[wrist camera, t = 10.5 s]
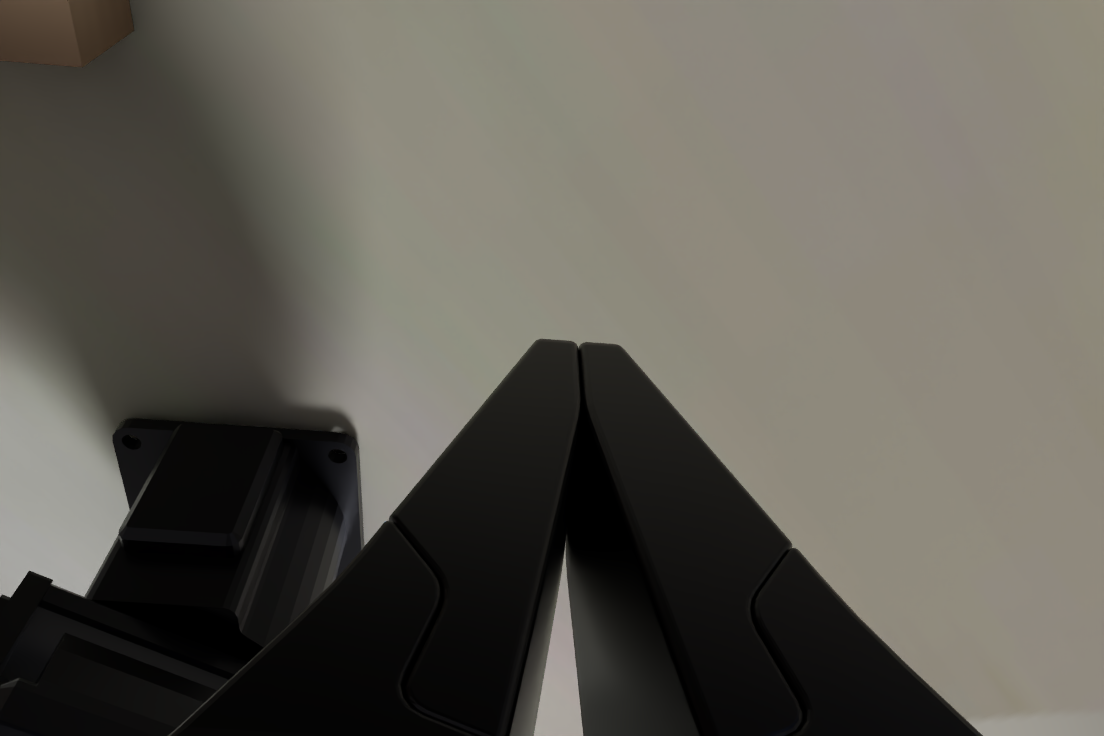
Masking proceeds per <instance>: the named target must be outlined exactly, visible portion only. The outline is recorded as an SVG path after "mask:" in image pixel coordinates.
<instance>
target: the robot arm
mask: <svg viewBox="0 0 1104 736" xmlns="http://www.w3.org/2000/svg"><path fill="white" fill-rule="evenodd" d="M129 435H133V436H136V437H137V438H138V439H139V440H136V439H133V438H132V437H130V436H129ZM113 444H114V448H115V452H116V456H117V460H118V464H119V468H120V472H121V476H122V480H123V484H124V488H125V492H126V496H127V500H128V504H129V508H130V511H129V513H128V515H127V517H126V518H125V520H124V522H123V524H122V526H121V527H120V529H119V534H118V537H117V538H116V540H115V542H114V544H113V546H112V547H111V549H110V551H109V553H108V555H107V557H106V558H105V560H104V562H103V564H102V566H101V567H100V569H99V571H98V573H97V575H96V577H95V578H94V580H93V582H92V584H91V586H90V587H89V589H88V591H87V593H86V595H85V597H83V596H80V595H78V594H75V593H73V592H70V591H68V590H65V589H63V588H60V587H58V586H55V585H52V584H51V583H52V582H53V580H52V579H49V578H47V577H44V576H41V575H39V574H36V573H34V572H31V571H29V572H28V573H27V575H26V576H25V578H24V579H23V581H22V582H21V584H20V585H19V587H18V588H17V589H16V591H15V592H14V594H13V595H12V597H11V598H10V597H7V596H5V595H1V597H0V736H534V730H535V724H536V718H537V712H538V707H539V701H540V695H541V689H542V683H543V678H544V672H545V666H546V660H547V654H548V649H549V643H550V637H551V631H552V625H553V620H554V614H555V608H556V602H557V596H558V591H559V585H560V579H561V572H562V565H563V558H564V550H565V542H566V567H567V580H568V590H569V599H570V609H571V619H572V629H573V638H574V648H575V658H576V667H577V677H578V687H579V697H580V706H581V716H582V726H583V736H983V735H982V734H980V733H979V732H978V731H977V730H976V729H975V728H974V727H973V726H972V725H971V724H970V723H969V722H968V721H967V720H966V719H965V718H963V717H962V716H961V715H960V714H959V713H958V712H957V711H956V710H955V709H954V708H953V707H952V706H951V705H950V704H949V703H948V702H946V701H945V700H944V699H943V698H942V697H941V696H940V695H939V694H938V693H937V692H936V691H935V690H934V689H933V688H932V687H930V686H929V685H928V684H927V683H926V682H925V681H924V680H923V679H922V678H921V677H920V676H919V675H918V674H917V673H916V672H914V671H913V670H912V669H911V668H910V667H909V666H908V665H907V664H906V663H905V662H904V661H903V660H902V659H901V658H900V657H899V656H898V655H897V654H896V653H895V652H894V651H893V650H892V649H891V648H890V647H889V646H888V645H887V644H886V643H885V642H884V641H883V640H882V639H881V638H880V637H878V636H877V635H876V634H875V633H874V632H873V631H872V630H871V629H870V628H869V627H868V626H867V625H866V624H865V623H864V622H863V621H862V620H861V619H860V618H859V617H858V616H857V615H856V614H855V613H854V611H853V610H852V609H851V608H850V607H849V606H848V605H847V604H846V603H845V602H844V601H843V599H842V598H841V597H840V596H839V595H838V594H837V593H836V592H835V591H834V590H833V589H832V587H831V586H830V585H829V584H828V583H827V582H826V581H825V580H824V579H823V578H822V577H821V575H820V574H819V573H818V572H817V571H816V570H815V569H814V567H813V566H812V565H811V564H810V563H809V562H808V561H807V559H806V558H805V557H804V556H803V555H802V554H801V552H800V551H799V550H798V549H796V548H792V543H791V541H790V540H789V539H788V538H787V537H786V536H785V534H784V533H783V532H782V531H781V530H780V529H779V528H778V526H777V525H776V524H775V523H774V522H773V521H772V519H771V518H770V517H769V516H768V515H767V514H766V513H765V511H764V510H763V509H762V508H761V507H760V506H759V504H758V503H757V502H756V501H755V500H754V499H753V498H752V496H751V495H750V494H749V493H748V492H747V491H746V489H745V488H744V487H743V486H742V485H741V484H740V483H739V481H738V480H737V479H736V478H735V477H734V476H733V474H732V473H731V472H730V471H729V470H728V469H727V468H726V466H725V465H724V464H723V463H722V462H721V461H720V459H719V458H718V457H717V456H716V455H715V454H714V453H713V451H712V450H711V449H710V448H709V447H708V446H707V444H706V443H705V442H704V441H703V440H702V439H701V438H700V436H699V435H698V434H697V433H696V432H695V431H694V429H693V428H692V427H691V426H690V425H689V424H688V423H687V421H686V420H685V419H684V418H683V417H682V416H681V414H680V413H679V412H678V411H677V410H676V409H675V408H674V406H673V405H672V404H671V403H670V402H669V401H668V399H667V398H666V397H665V396H664V395H663V394H662V393H661V391H660V390H659V389H658V388H657V387H656V386H655V384H654V383H653V382H652V381H651V380H650V379H649V378H648V376H647V375H646V374H645V373H644V372H643V371H642V369H641V368H640V367H639V366H638V365H637V364H636V363H635V361H634V360H633V359H632V358H631V357H630V356H629V354H628V353H627V352H626V351H625V350H624V349H623V348H622V347H621V346H619V345H616V344H605V343H591V342H585V343H582V344H581V345H580V346H579V348H578V346H577V344H576V343H574V342H572V341H564V340H551V339H539V340H536V341H535V342H534V343H533V344H532V346H531V347H530V348H529V349H528V350H527V352H526V353H525V354H524V355H523V356H522V358H521V359H520V360H519V361H518V363H517V364H516V365H515V366H514V367H513V369H512V370H511V371H510V372H509V373H508V375H507V376H506V377H505V378H504V379H503V381H502V382H501V383H500V384H499V385H498V387H497V388H496V389H495V390H494V391H493V393H492V394H491V395H490V396H489V397H488V399H487V400H486V401H485V402H484V404H483V405H482V406H481V407H480V408H479V410H478V411H477V412H476V413H475V414H474V416H473V417H472V418H471V419H470V420H469V422H468V423H467V424H466V425H465V426H464V428H463V429H462V430H461V431H460V432H459V434H458V435H457V436H456V437H455V439H454V440H453V441H452V442H451V443H450V445H449V446H448V447H447V448H446V449H445V451H444V452H443V453H442V454H441V455H440V457H439V458H438V459H437V460H436V461H435V463H434V464H433V465H432V466H431V467H430V469H429V470H428V471H427V472H426V473H425V475H424V476H423V477H422V478H421V480H420V481H419V482H418V483H417V484H416V486H415V487H414V488H413V489H412V490H411V492H410V493H409V494H408V495H407V496H406V498H405V499H404V500H403V501H402V502H401V504H400V505H399V506H398V507H397V508H396V510H395V511H394V512H393V513H392V514H391V516H390V517H389V521H386V522H385V523H383V525H382V526H381V527H380V528H379V530H378V531H377V532H376V533H375V534H374V536H373V537H372V538H371V539H370V541H369V542H368V543H367V544H366V545H365V547H364V534H363V515H362V496H361V477H360V458H359V446H358V443H357V442H356V441H355V439H354V438H353V437H351V436H349V435H347V434H344V433H337V432H323V431H309V430H294V429H280V428H265V427H251V426H236V425H222V424H208V423H193V422H179V421H164V420H150V419H135V418H133V419H126V420H124V421H122V422H121V423H120V425H119V426H118V428H117V430H116V431H115V433H114V434H113ZM333 449H339V450H342V451H344V452H345V454H339V453H336V452H335V451H333Z"/></svg>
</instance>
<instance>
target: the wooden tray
mask: <svg viewBox="0 0 1104 736" xmlns="http://www.w3.org/2000/svg"><path fill="white" fill-rule="evenodd" d="M133 31H134V27H133V21H132V15H131V9H130V4H129V0H0V61H11V62H23V63H35V64H47V65H59V66H72V67H84V66H85V65H86V64H88V63H89V62H91V61H92V60H93V59H95V58H96V57H98V56H99V55H101V54H102V53H103V52H105V51H106V50H108V49H109V48H110V47H112V46H113V45H115V44H116V43H117V42H119V41H120V40H122V39H123V38H124V37H126V36H127V35H129V34H130V33H131V32H133Z"/></svg>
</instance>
